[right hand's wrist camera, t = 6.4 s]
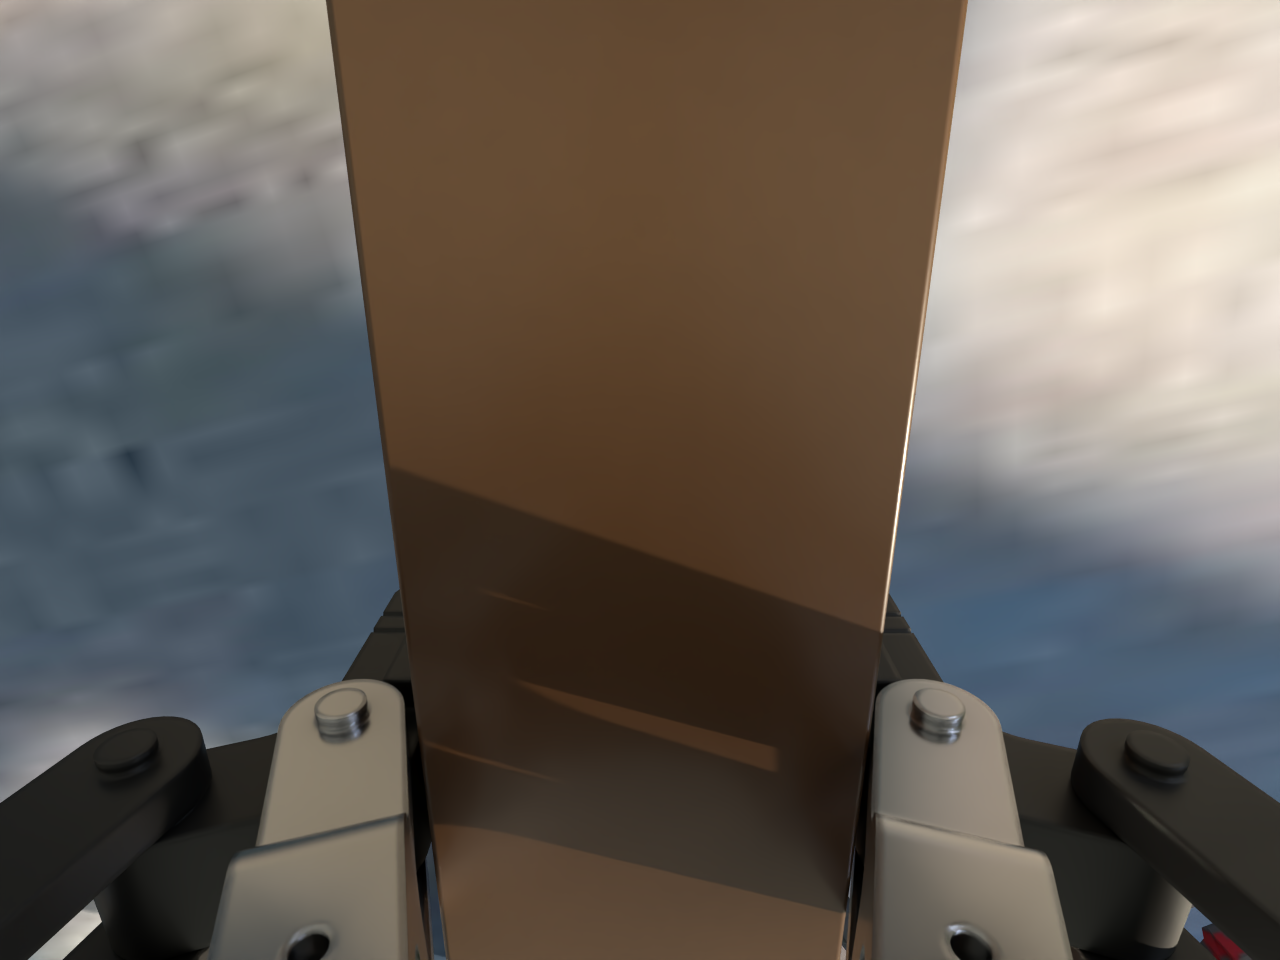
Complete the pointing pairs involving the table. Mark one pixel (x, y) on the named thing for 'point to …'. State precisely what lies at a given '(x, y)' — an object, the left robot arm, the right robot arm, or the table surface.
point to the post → (645, 441)
